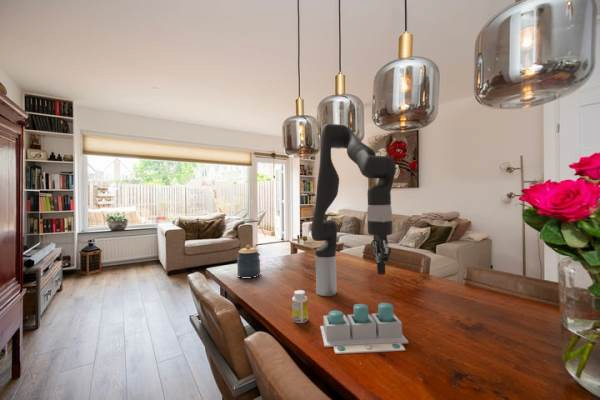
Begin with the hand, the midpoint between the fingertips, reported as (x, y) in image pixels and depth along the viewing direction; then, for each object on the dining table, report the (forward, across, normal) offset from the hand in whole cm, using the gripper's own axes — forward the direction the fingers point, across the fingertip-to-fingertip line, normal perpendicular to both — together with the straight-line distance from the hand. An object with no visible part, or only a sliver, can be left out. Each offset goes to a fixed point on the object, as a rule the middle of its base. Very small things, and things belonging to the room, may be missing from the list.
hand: (381, 273), depth 85 cm
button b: (+16, 0, -7) cm, 18 cm away
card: (+19, +8, -6) cm, 22 cm away
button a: (+18, 0, -15) cm, 23 cm away
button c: (+16, -1, +1) cm, 16 cm away
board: (+19, 0, -7) cm, 20 cm away
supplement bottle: (+19, -12, -26) cm, 34 cm away
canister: (+19, -69, -54) cm, 90 cm away
